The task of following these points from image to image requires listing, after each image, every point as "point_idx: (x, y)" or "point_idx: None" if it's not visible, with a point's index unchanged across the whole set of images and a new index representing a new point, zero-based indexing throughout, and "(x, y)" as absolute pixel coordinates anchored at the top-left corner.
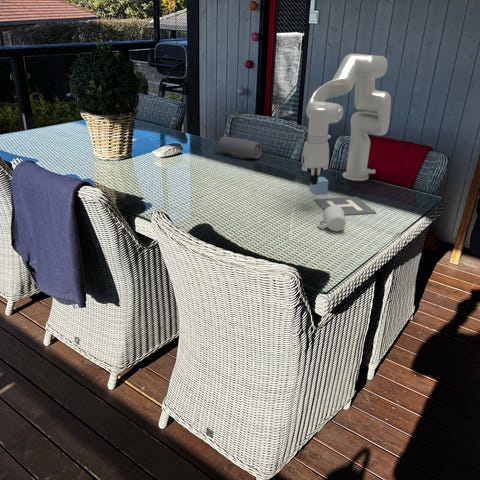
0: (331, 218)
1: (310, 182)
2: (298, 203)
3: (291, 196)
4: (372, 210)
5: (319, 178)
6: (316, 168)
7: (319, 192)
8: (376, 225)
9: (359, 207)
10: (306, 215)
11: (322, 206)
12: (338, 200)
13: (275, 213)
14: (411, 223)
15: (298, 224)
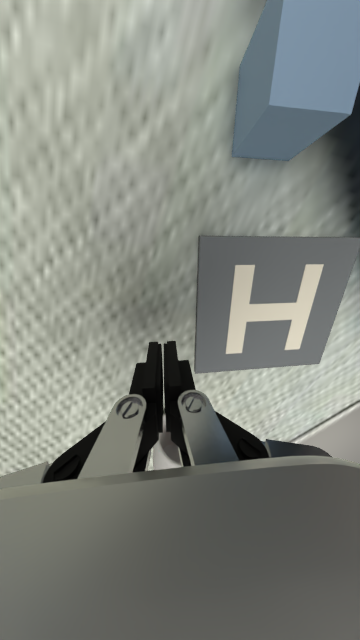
0: None
1: (150, 344)
2: (129, 260)
3: (115, 163)
4: (320, 351)
5: (334, 14)
6: (197, 454)
7: (258, 153)
8: (271, 415)
9: (303, 331)
10: (131, 360)
11: (201, 311)
12: (280, 264)
13: (29, 339)
14: (342, 408)
15: (95, 407)
